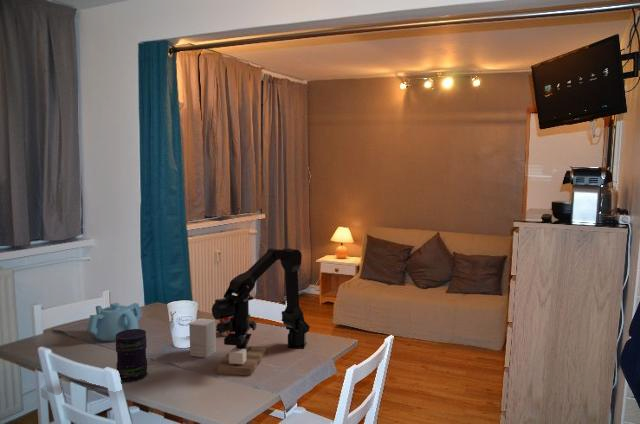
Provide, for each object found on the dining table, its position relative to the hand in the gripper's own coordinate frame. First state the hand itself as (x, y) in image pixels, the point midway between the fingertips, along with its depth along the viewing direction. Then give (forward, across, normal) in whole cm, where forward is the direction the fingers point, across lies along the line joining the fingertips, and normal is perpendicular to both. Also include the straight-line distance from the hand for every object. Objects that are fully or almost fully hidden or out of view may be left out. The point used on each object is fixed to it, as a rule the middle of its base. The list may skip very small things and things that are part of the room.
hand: (241, 355), depth 176 cm
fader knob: (+1, +4, 0) cm, 4 cm away
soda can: (+4, -30, -16) cm, 34 cm away
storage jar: (+4, +15, -34) cm, 37 cm away
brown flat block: (+4, -2, 0) cm, 4 cm away
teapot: (+4, -21, -63) cm, 67 cm away
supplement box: (+4, -8, -18) cm, 20 cm away
